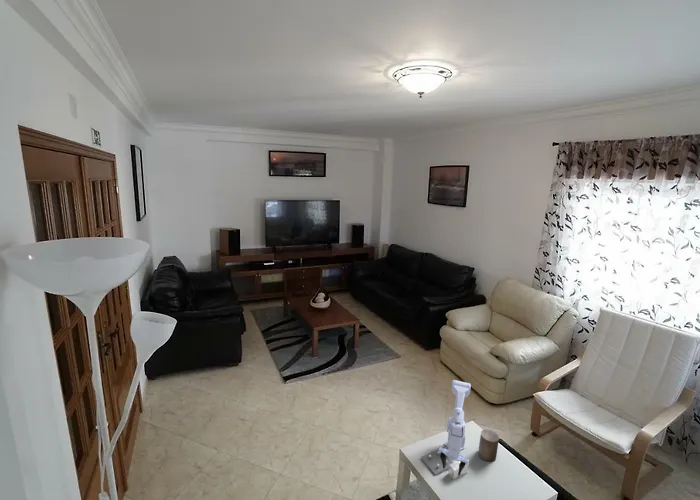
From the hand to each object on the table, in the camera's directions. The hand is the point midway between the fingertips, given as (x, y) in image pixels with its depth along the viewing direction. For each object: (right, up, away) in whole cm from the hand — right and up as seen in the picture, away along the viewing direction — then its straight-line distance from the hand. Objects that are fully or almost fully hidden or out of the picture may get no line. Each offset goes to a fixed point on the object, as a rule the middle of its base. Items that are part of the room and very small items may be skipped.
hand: (451, 470), depth 177 cm
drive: (+6, -8, +11) cm, 15 cm away
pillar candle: (+27, -6, +23) cm, 36 cm away
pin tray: (-3, -6, +17) cm, 18 cm away
